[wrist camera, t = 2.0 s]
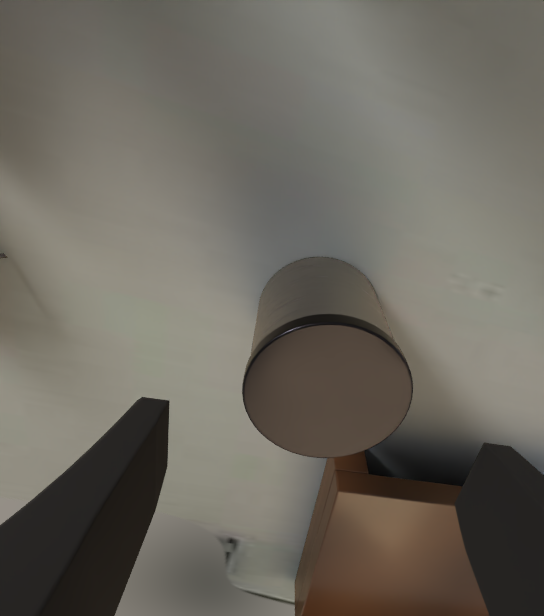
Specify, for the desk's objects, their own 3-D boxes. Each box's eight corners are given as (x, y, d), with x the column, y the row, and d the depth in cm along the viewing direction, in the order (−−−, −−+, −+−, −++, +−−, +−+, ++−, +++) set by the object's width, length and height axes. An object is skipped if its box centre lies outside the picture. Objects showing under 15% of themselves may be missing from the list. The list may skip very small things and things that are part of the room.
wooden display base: (643, 481, 22) (744, 593, 17) (544, 612, 27) (598, 725, 22) (331, 440, 21) (342, 542, 17) (294, 581, 27) (294, 689, 22)
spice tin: (394, 263, 17) (436, 336, 12) (364, 370, 19) (388, 468, 14) (264, 245, 17) (251, 310, 12) (249, 354, 19) (234, 448, 14)
